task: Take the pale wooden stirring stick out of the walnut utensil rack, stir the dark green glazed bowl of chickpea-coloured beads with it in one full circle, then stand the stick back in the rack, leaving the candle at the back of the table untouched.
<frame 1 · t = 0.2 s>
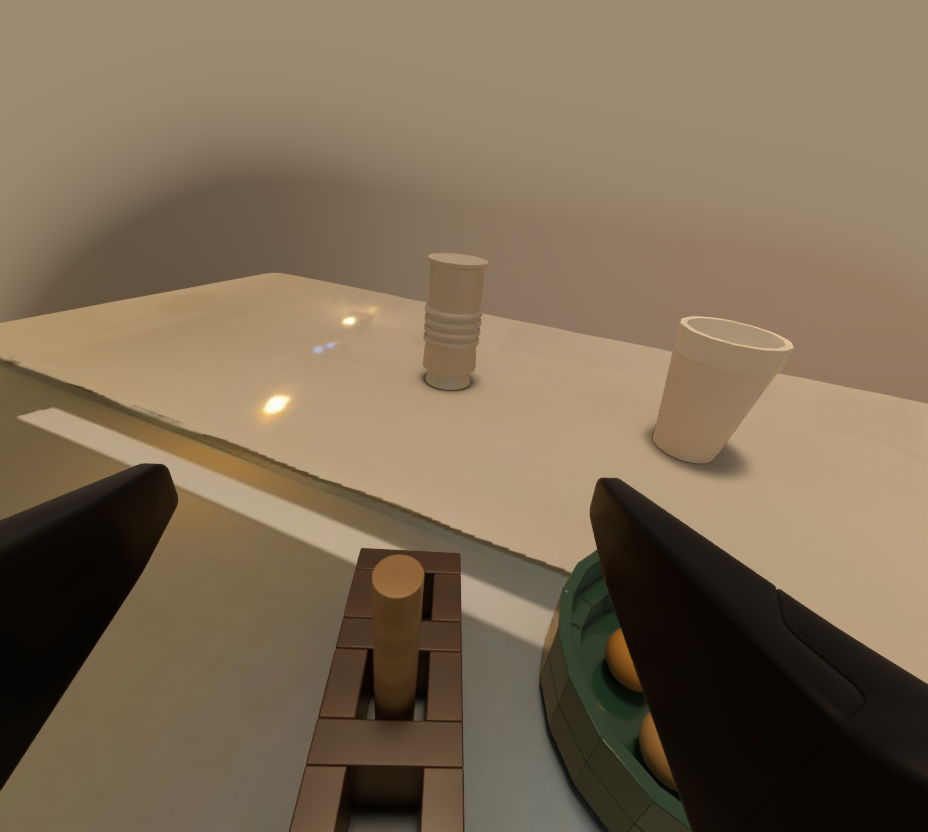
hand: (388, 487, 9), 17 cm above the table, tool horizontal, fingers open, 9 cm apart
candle: (447, 380, 53), on the table
foam cup: (682, 447, 45), on the table
stick: (395, 662, 17), in the rack
bead a: (635, 657, 21), point 2 cm above the table, touching bowl
bowl: (674, 710, 21), on the table
bead c: (675, 747, 18), point 2 cm above the table, touching bowl
rack: (394, 726, 20), on the table
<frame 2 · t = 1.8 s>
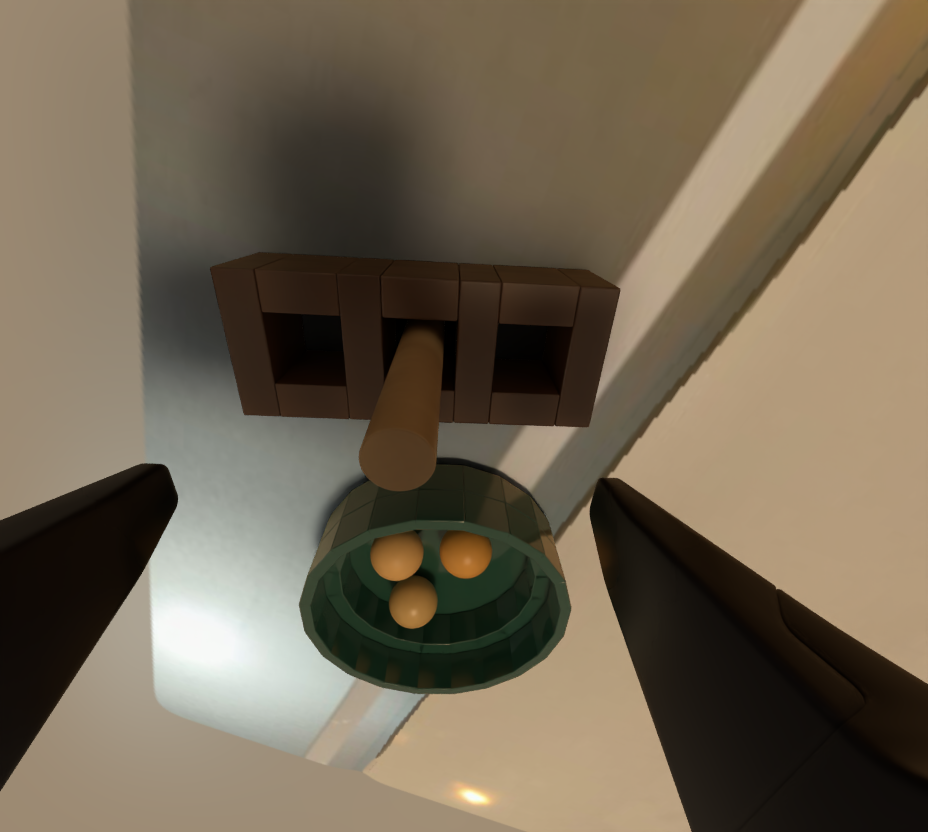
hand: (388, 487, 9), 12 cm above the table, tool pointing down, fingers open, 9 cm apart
stick: (416, 371, 14), in the rack
bead a: (465, 550, 23), point 2 cm above the table, touching bowl
bowl: (439, 549, 26), on the table
bead c: (397, 552, 23), point 2 cm above the table, touching bowl
bead b: (413, 601, 25), point 2 cm above the table, touching bowl
rack: (426, 326, 19), on the table
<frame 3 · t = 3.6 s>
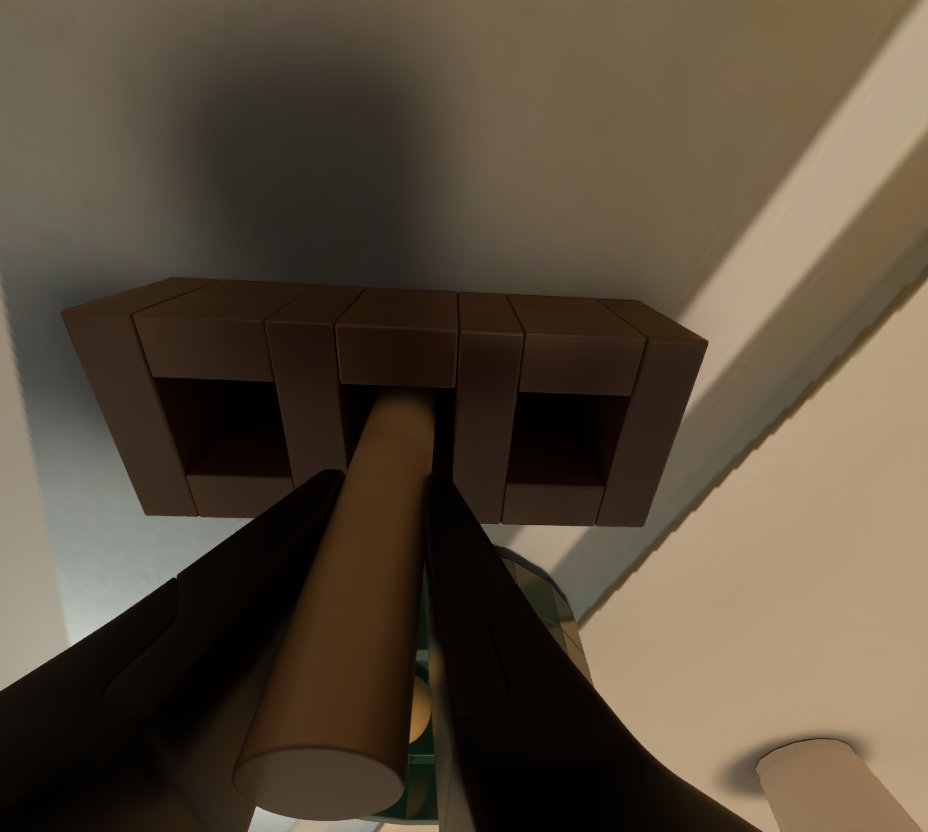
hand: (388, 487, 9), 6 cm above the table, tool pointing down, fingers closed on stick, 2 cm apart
foam cup: (800, 757, 29), on the table
stick: (390, 472, 9), in the rack, touching gripper
bowl: (434, 637, 21), on the table
bead b: (401, 707, 20), point 2 cm above the table, touching bowl
rack: (412, 376, 14), on the table
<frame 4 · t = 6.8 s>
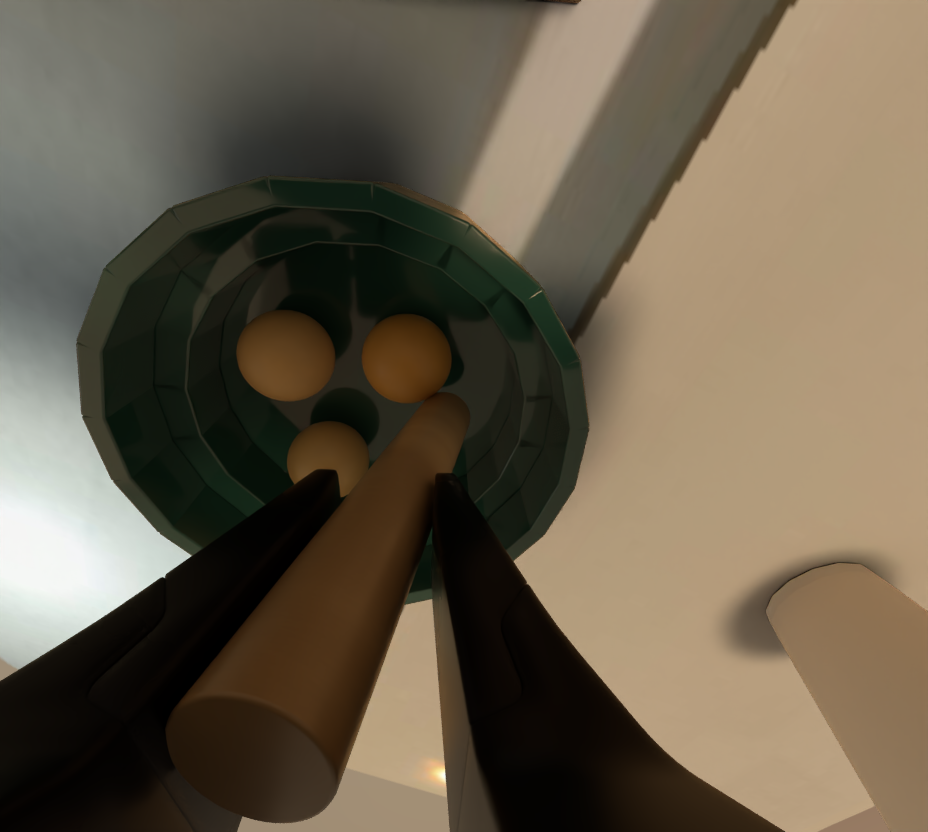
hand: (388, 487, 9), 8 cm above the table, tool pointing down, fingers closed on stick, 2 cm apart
foam cup: (817, 595, 25), on the table
stick: (402, 491, 9), point 8 cm above the table, tilted 15°, touching bead a, gripper
bead a: (407, 359, 14), point 2 cm above the table, tilted 11°, touching bowl, stick
bowl: (373, 383, 16), on the table
bead c: (288, 356, 14), point 2 cm above the table, touching bowl
bead b: (329, 460, 16), point 2 cm above the table, touching bowl
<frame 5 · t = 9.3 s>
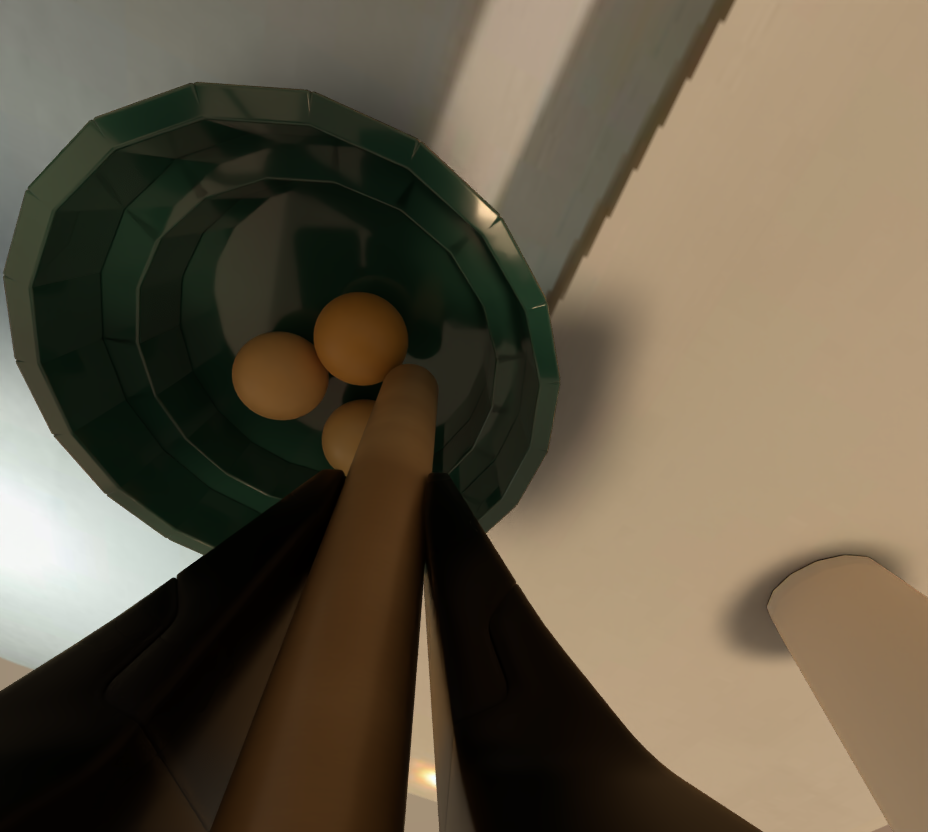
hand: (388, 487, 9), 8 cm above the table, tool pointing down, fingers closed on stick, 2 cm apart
foam cup: (822, 591, 23), on the table
stick: (385, 501, 8), point 9 cm above the table, touching gripper
bead a: (362, 339, 13), point 2 cm above the table, tilted 45°, touching bowl
bowl: (343, 348, 16), on the table
bead c: (282, 376, 14), point 2 cm above the table, tilted 89°, touching bowl
bead b: (364, 439, 15), point 2 cm above the table, tilted 67°, touching bowl
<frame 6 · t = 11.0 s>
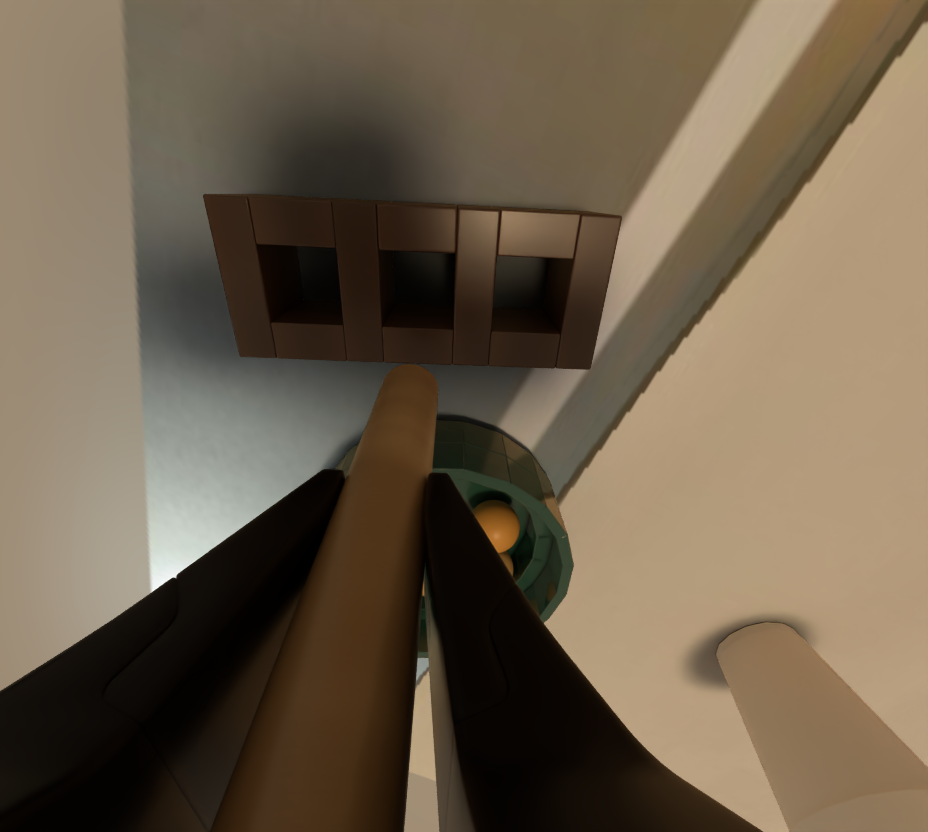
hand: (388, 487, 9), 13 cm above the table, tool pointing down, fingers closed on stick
foam cup: (754, 644, 33), on the table
stick: (385, 501, 8), point 13 cm above the table, touching gripper
bead a: (493, 526, 24), point 2 cm above the table, tilted 73°, touching bowl
bowl: (440, 513, 26), on the table
bead b: (489, 567, 25), point 2 cm above the table, tilted 133°, touching bowl
rack: (424, 273, 19), on the table
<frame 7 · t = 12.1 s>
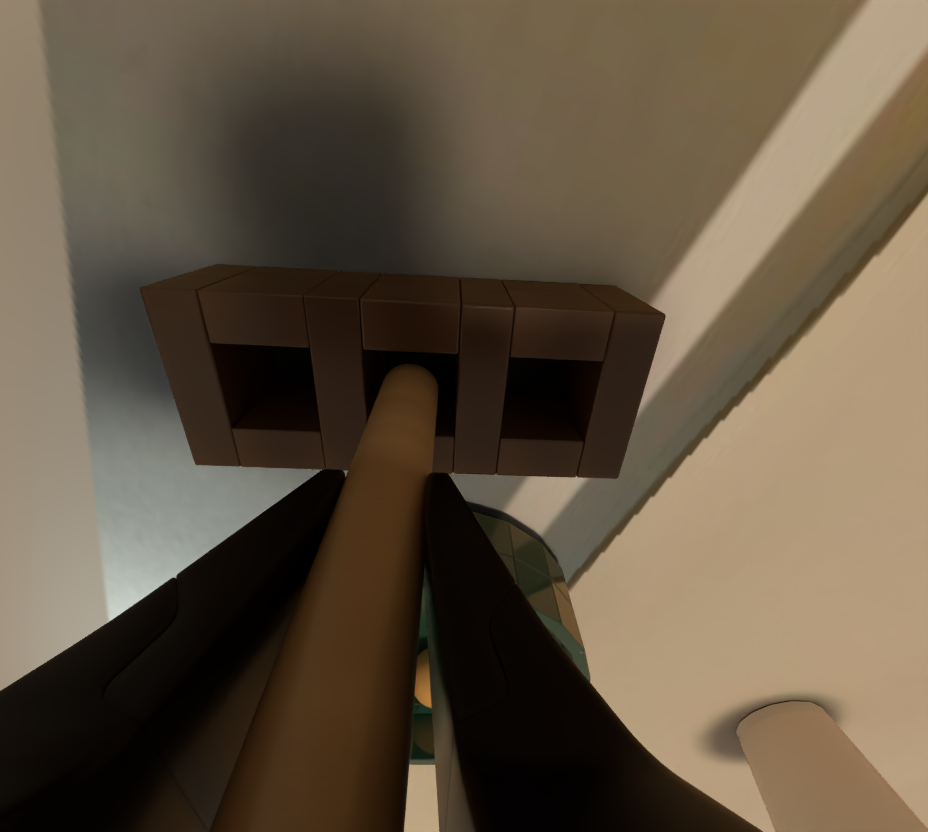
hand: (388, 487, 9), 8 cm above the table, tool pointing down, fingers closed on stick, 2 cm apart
foam cup: (777, 720, 31), on the table
stick: (385, 501, 8), point 9 cm above the table, touching gripper
bowl: (437, 597, 23), on the table
bead c: (437, 676, 23), point 2 cm above the table, tilted 116°, touching bowl
rack: (420, 351, 16), on the table
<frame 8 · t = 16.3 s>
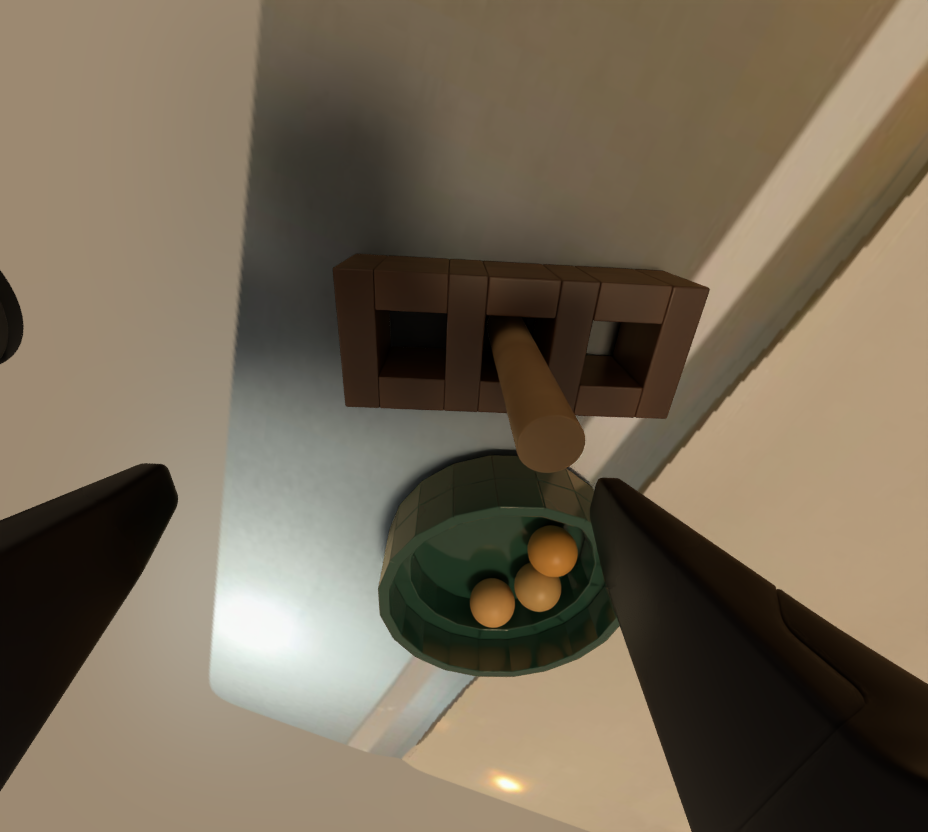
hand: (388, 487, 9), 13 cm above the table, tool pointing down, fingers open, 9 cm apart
stick: (520, 366, 15), in the rack
bead a: (552, 550, 25), point 2 cm above the table, tilted 64°, touching bowl
bowl: (498, 538, 27), on the table
bead c: (492, 602, 27), point 2 cm above the table, tilted 134°, touching bowl
bead b: (537, 586, 26), point 2 cm above the table, tilted 104°, touching bowl
rack: (505, 323, 20), on the table
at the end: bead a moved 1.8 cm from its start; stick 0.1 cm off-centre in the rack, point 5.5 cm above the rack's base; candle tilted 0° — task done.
